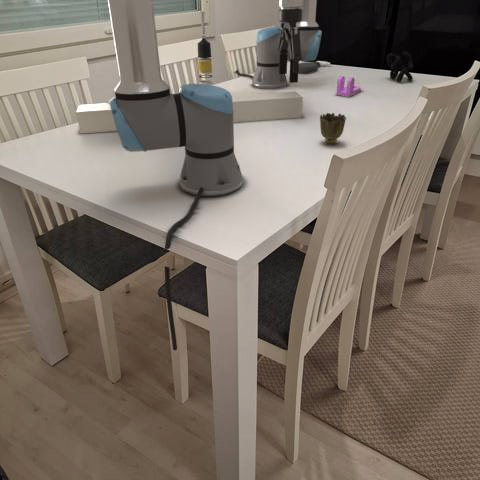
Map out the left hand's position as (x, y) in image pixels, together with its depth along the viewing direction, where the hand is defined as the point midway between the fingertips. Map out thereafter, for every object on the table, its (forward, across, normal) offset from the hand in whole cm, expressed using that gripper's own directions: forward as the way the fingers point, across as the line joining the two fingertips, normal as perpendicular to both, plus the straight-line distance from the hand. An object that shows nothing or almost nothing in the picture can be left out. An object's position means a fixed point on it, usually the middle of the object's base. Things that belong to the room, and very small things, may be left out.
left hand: (129, 43), depth 137 cm
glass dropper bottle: (+26, +33, -37) cm, 56 cm away
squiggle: (+26, +9, -121) cm, 124 cm away
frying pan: (+26, +49, -100) cm, 114 cm away
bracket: (+26, +2, -88) cm, 92 cm away
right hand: (+13, -13, -50) cm, 53 cm away
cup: (+25, -44, -46) cm, 69 cm away
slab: (+26, -4, -18) cm, 31 cm away
